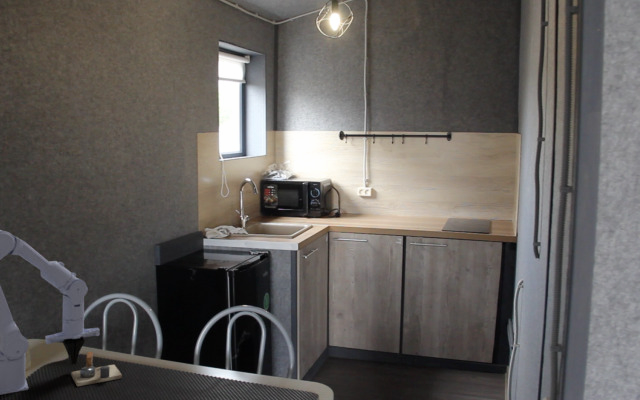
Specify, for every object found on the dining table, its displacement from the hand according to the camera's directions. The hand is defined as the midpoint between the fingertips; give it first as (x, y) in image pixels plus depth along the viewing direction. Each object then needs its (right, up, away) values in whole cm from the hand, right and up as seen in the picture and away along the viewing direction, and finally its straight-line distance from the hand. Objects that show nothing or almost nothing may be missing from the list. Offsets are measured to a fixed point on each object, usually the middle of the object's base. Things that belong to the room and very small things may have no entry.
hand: (72, 363), depth 158 cm
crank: (+5, -2, -1) cm, 5 cm away
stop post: (+11, -3, -5) cm, 13 cm away
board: (+8, -3, -3) cm, 9 cm away
